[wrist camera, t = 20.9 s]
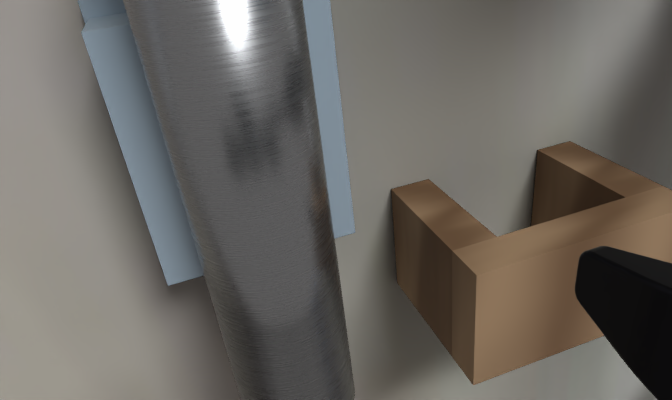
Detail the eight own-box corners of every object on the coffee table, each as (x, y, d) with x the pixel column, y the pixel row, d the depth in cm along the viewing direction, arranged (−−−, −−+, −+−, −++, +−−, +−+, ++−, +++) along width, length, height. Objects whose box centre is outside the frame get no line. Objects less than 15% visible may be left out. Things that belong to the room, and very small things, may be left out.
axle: (68, -218, 11) (27, -283, 8) (251, -230, 12) (286, -294, 9) (237, 371, 20) (253, 461, 17) (336, 341, 21) (370, 421, 17)
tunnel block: (569, 141, 24) (698, 203, 18) (558, 231, 26) (669, 310, 21) (391, 189, 22) (476, 275, 16) (397, 282, 24) (473, 385, 19)
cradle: (301, -35, 17) (331, -30, 14) (332, 204, 21) (360, 243, 18) (79, -2, 15) (67, 12, 12) (163, 250, 20) (167, 298, 17)
